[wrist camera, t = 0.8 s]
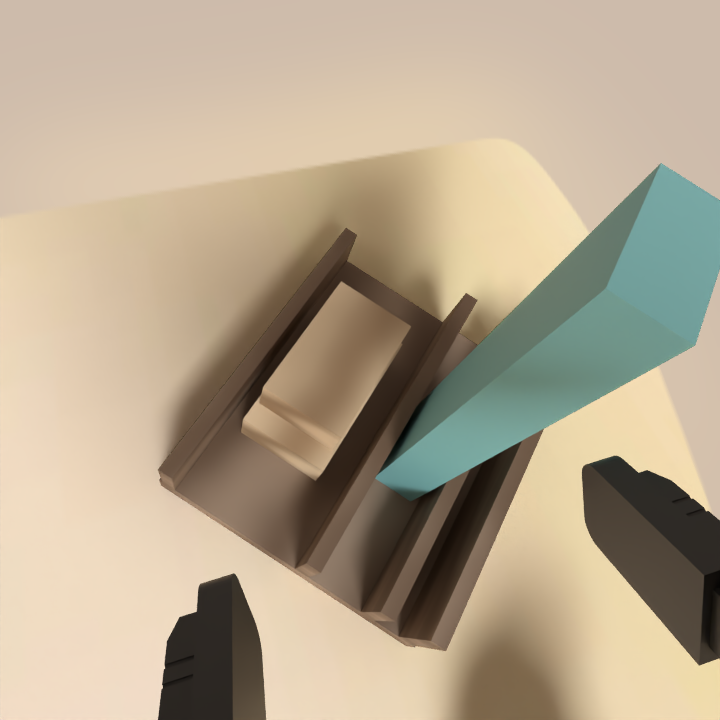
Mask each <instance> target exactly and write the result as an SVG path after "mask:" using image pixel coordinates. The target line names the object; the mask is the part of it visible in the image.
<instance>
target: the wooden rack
mask: <svg viewBox="0 0 720 720" xmlns="http://www.w3.org/2000/svg"><path fill="white" fill-rule="evenodd" d="M356 236H357V235H356V234H355V233H353V232H352V231H350V230H349V229H347V228H346V229H345V230H344V231H343V233H342V234H341V235H340V236H339V238H338V239H337V240H336V242H335V243H334V244H333V245H332V247H331V248H330V249H329V251H328V252H327V253H326V254H325V256H324V257H323V258H322V260H321V261H320V262H319V263H318V265H317V266H316V267H315V269H314V270H313V271H312V272H311V274H310V275H309V276H308V278H307V279H306V280H305V281H304V283H303V284H302V285H301V287H300V288H299V289H298V290H297V292H296V293H295V294H294V296H293V297H292V298H291V299H290V301H289V302H288V303H287V305H286V306H285V307H284V308H283V310H282V311H281V312H280V314H279V315H278V316H277V317H276V319H275V320H274V321H273V323H272V324H271V325H270V326H269V328H268V329H267V330H266V332H265V333H264V334H263V335H262V337H261V338H260V339H259V340H258V342H257V343H256V344H255V346H254V347H253V348H252V349H251V351H250V352H249V353H248V355H247V356H246V357H245V358H244V360H243V361H242V362H241V364H240V365H239V366H238V367H237V369H236V370H235V371H234V373H233V374H232V375H231V376H230V378H229V379H228V380H227V382H226V383H225V384H224V385H223V387H222V388H221V389H220V391H219V392H218V393H217V394H216V396H215V397H214V398H213V400H212V401H211V402H210V403H209V405H208V406H207V407H206V409H205V410H204V411H203V412H202V414H201V415H200V416H199V418H198V419H197V420H196V421H195V423H194V424H193V425H192V427H191V428H190V429H189V430H188V432H187V433H186V434H185V436H184V437H183V438H182V439H181V441H180V442H179V443H178V445H177V446H176V447H175V448H174V450H173V451H172V452H171V454H170V455H169V456H168V457H167V459H166V460H165V461H164V463H163V464H162V465H161V466H160V468H159V469H158V471H159V474H160V477H161V478H160V483H161V485H162V486H163V487H165V488H166V489H168V490H169V491H171V492H172V493H174V494H175V495H177V496H178V497H180V498H181V499H183V500H184V501H186V502H188V503H189V504H191V505H192V506H194V507H195V508H197V509H198V510H200V511H201V512H203V513H204V514H206V515H207V516H209V517H210V518H212V519H213V520H215V521H216V522H218V523H220V524H221V525H223V526H224V527H226V528H227V529H229V530H230V531H232V532H233V533H235V534H236V535H238V536H239V537H241V538H242V539H244V540H245V541H247V542H248V543H250V544H252V545H253V546H255V547H256V548H258V549H259V550H261V551H262V552H264V553H265V554H267V555H268V556H270V557H271V558H273V559H274V560H276V561H277V562H279V563H281V564H282V565H284V566H285V567H287V568H288V569H290V570H291V571H293V572H294V573H296V574H297V575H299V576H300V577H302V578H303V579H305V580H306V581H308V582H309V583H311V584H313V585H314V586H316V587H317V588H319V589H320V590H322V591H323V592H325V593H326V594H328V595H329V596H331V597H332V598H334V599H335V600H337V601H338V602H340V603H342V604H343V605H345V606H346V607H348V608H349V609H351V610H352V611H354V612H355V613H357V614H358V615H360V616H361V617H363V618H364V619H366V620H367V621H369V622H370V623H372V624H374V625H375V626H377V627H378V628H380V629H381V630H383V631H384V632H386V633H387V634H389V635H390V636H392V637H393V638H395V639H396V640H398V641H399V642H401V643H403V644H404V645H406V646H410V647H415V646H419V647H425V648H431V649H437V650H443V651H446V650H447V648H448V645H449V643H450V641H451V639H452V636H453V634H454V632H455V629H456V627H457V625H458V623H459V620H460V618H461V616H462V614H463V611H464V609H465V607H466V604H467V602H468V600H469V598H470V595H471V593H472V591H473V589H474V586H475V584H476V582H477V580H478V577H479V575H480V573H481V570H482V568H483V566H484V564H485V561H486V559H487V557H488V555H489V552H490V550H491V548H492V545H493V543H494V541H495V539H496V536H497V534H498V532H499V530H500V527H501V525H502V523H503V521H504V518H505V516H506V514H507V511H508V509H509V507H510V505H511V502H512V500H513V498H514V496H515V493H516V491H517V489H518V486H519V484H520V482H521V480H522V477H523V475H524V473H525V471H526V468H527V466H528V464H529V461H530V459H531V457H532V455H533V452H534V450H535V448H536V446H537V443H538V441H539V439H540V437H541V434H542V432H543V430H544V429H542V430H540V431H539V432H537V433H535V434H533V435H531V436H529V437H528V438H526V439H524V440H522V441H520V442H519V443H517V444H515V445H513V446H511V447H509V448H508V449H506V450H504V451H502V452H500V453H498V454H497V455H495V456H493V457H491V458H489V459H488V460H486V461H484V462H482V463H480V464H478V465H477V466H475V467H473V468H471V469H469V470H468V471H466V472H464V473H462V474H460V475H458V476H457V477H455V478H453V479H451V480H449V481H447V482H446V483H444V484H442V485H440V486H438V487H437V488H435V489H433V490H431V491H429V492H427V493H426V494H424V495H422V496H420V497H418V498H417V499H415V500H413V501H409V500H407V499H406V498H404V497H403V496H401V495H400V494H398V493H397V492H395V491H394V490H392V489H391V488H389V487H388V486H386V485H384V484H383V483H381V482H380V481H378V480H377V479H375V478H376V476H377V474H378V473H379V471H380V469H381V467H382V466H383V464H384V462H385V460H386V459H387V457H388V455H389V453H390V452H391V450H392V448H393V446H394V445H395V443H396V441H397V440H398V438H399V436H400V434H401V433H402V431H403V429H404V427H405V426H406V424H407V422H408V420H409V419H410V417H411V415H412V413H413V412H414V410H415V408H416V406H417V405H418V404H419V403H420V402H421V401H422V400H423V399H424V398H425V397H426V396H427V395H428V394H430V393H431V392H432V391H433V390H434V389H435V388H436V387H437V386H438V385H439V384H440V383H441V382H442V381H443V380H444V379H445V378H446V377H447V376H448V375H449V374H450V373H451V372H452V371H453V370H454V369H455V368H456V367H457V366H458V365H459V364H460V363H461V362H462V361H463V360H464V359H465V358H466V357H467V356H468V355H469V354H470V353H471V352H472V351H473V350H474V349H475V348H476V347H477V346H478V345H477V344H475V343H474V342H472V341H471V340H469V339H468V338H466V337H464V336H463V335H461V334H460V333H459V332H460V330H461V328H462V326H463V325H464V323H465V321H466V319H467V318H468V316H469V314H470V312H471V311H472V309H473V307H474V305H475V304H476V302H477V300H476V299H475V298H473V297H472V296H470V295H468V294H467V293H466V294H465V295H464V296H463V298H462V299H461V300H460V301H459V303H458V304H457V305H456V306H455V308H454V309H453V310H452V311H451V313H450V314H449V315H448V316H447V318H446V319H445V320H444V321H443V322H441V321H440V320H438V319H436V318H435V317H433V316H432V315H430V314H429V313H427V312H426V311H424V310H422V309H421V308H419V307H418V306H416V305H415V304H413V303H412V302H410V301H408V300H407V299H405V298H404V297H402V296H401V295H399V294H398V293H396V292H394V291H393V290H391V289H390V288H388V287H387V286H385V285H384V284H382V283H380V282H379V281H377V280H376V279H374V278H373V277H371V276H370V275H368V274H366V273H365V272H363V271H362V270H360V269H359V268H357V267H356V266H354V265H352V264H351V263H349V262H348V261H347V259H348V257H349V254H350V252H351V249H352V246H353V244H354V241H355V239H356ZM341 281H342V282H343V283H345V284H346V285H348V286H349V287H351V288H352V289H354V290H355V291H357V292H359V293H360V294H362V295H363V296H365V297H366V298H368V299H369V300H371V301H373V302H374V303H376V304H377V305H379V306H380V307H382V308H383V309H385V310H387V311H388V312H390V313H391V314H393V315H394V316H396V317H397V318H399V319H401V320H402V321H404V322H405V323H407V324H408V325H410V326H411V328H410V329H409V331H408V333H407V334H406V336H405V337H404V339H403V341H402V342H401V344H403V345H402V346H401V348H400V350H399V351H398V353H397V354H396V356H395V358H394V359H393V361H392V362H391V364H390V366H389V367H388V369H387V370H386V372H385V373H384V375H383V377H382V378H381V380H380V381H379V383H378V385H377V386H376V388H375V389H374V391H373V393H372V394H371V396H370V397H369V399H368V401H367V402H366V404H365V405H364V407H363V409H362V410H361V412H360V413H359V415H358V417H357V418H356V420H355V421H354V423H353V425H352V426H351V428H350V429H349V431H348V433H347V434H346V436H345V437H344V439H343V441H342V442H341V444H340V445H339V447H338V449H337V450H336V452H335V453H334V455H333V457H332V458H331V460H330V461H329V463H328V465H327V466H326V468H325V469H324V471H323V472H322V474H321V475H320V476H319V477H318V478H317V480H316V481H315V480H314V479H312V478H310V477H309V476H307V475H306V474H304V473H303V472H301V471H300V470H298V469H297V468H295V467H294V466H292V465H291V464H289V463H287V462H286V461H284V460H283V459H281V458H280V457H278V456H277V455H275V454H274V453H272V452H271V451H269V450H267V449H266V448H264V447H263V446H261V445H260V444H258V443H257V442H255V441H254V440H252V439H251V438H249V437H248V436H246V435H244V434H243V433H241V428H242V422H243V418H244V417H245V416H246V414H247V413H248V412H249V410H250V409H251V408H252V406H253V405H254V403H255V402H256V401H257V399H258V398H259V397H260V395H261V394H262V390H263V387H264V385H265V384H266V383H267V381H268V380H269V378H270V377H271V376H272V374H273V373H274V372H275V370H276V369H277V368H278V366H279V365H280V364H281V362H282V361H283V360H284V358H285V357H286V355H287V354H288V353H289V351H290V350H291V349H292V347H293V346H294V345H295V343H296V342H297V341H298V339H299V338H300V336H301V335H302V334H303V332H304V331H305V330H306V328H307V327H308V326H309V324H310V323H311V322H312V320H313V319H314V318H315V316H316V315H317V313H318V312H319V311H320V309H321V308H322V307H323V305H324V304H325V303H326V301H327V300H328V299H329V297H330V296H331V294H332V293H333V292H334V290H335V289H336V288H337V286H338V285H339V284H340V282H341Z"/></svg>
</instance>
